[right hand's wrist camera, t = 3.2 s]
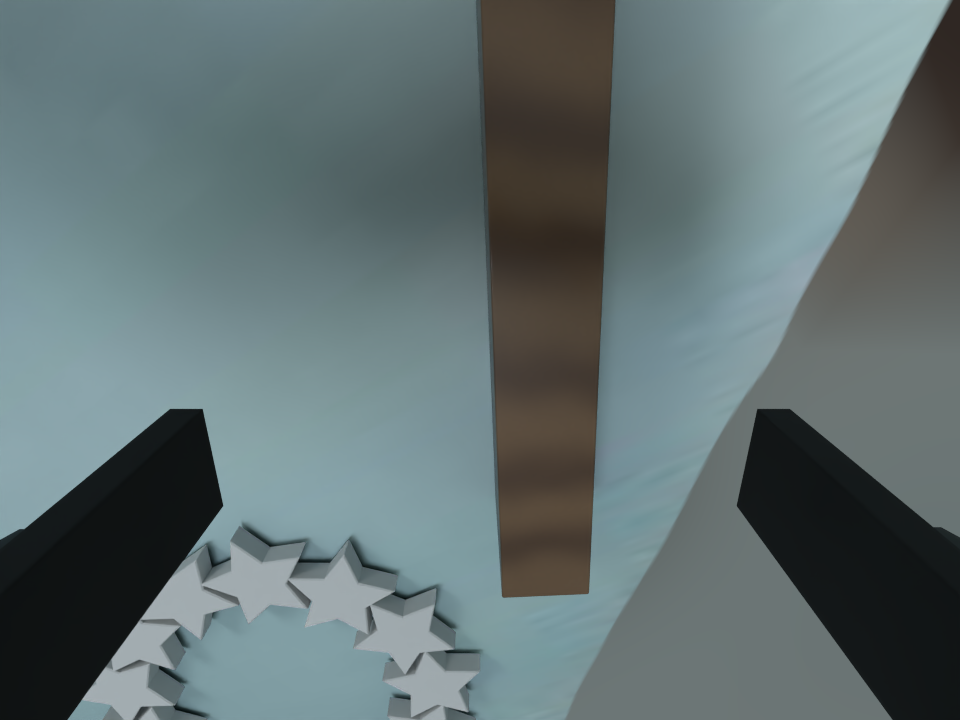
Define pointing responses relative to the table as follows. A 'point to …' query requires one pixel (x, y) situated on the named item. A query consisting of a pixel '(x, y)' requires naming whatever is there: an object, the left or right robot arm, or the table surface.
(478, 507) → the table surface
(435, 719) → the decorative wreath
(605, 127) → the bar
